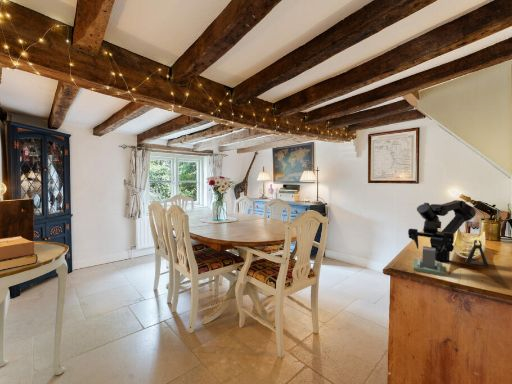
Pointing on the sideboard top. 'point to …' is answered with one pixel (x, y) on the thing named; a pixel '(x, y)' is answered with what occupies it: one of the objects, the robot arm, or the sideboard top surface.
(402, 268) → the sideboard top surface
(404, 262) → the sideboard top surface
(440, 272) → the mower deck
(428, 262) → the chute block
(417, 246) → the robot arm
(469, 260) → the dark a-frame stand
